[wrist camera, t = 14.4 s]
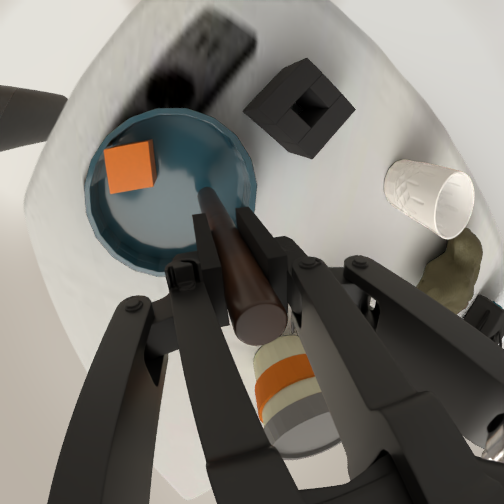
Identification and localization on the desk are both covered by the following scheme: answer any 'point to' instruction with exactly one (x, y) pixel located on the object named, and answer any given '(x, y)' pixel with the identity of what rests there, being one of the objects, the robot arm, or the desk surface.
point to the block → (130, 166)
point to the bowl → (167, 186)
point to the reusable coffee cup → (292, 401)
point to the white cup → (431, 195)
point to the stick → (242, 278)
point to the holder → (309, 99)
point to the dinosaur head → (454, 272)
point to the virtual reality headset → (487, 318)
